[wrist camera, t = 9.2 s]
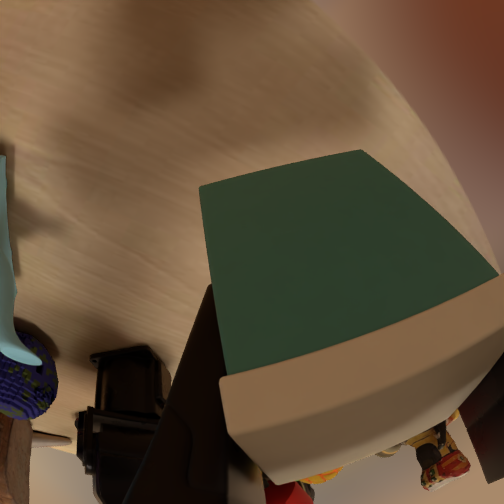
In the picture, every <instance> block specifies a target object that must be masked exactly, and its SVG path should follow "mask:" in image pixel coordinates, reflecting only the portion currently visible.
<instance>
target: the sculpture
mask: <svg viewBox="0 0 504 504" xmlns="http://www.w3.org/2000/svg"><path fill="white" fill-rule="evenodd" d="M32 436H33V430H32V427H31V424H30V422H29V420H24V419H23V420H18V419H14V418H12V417H8V416H6V415H5V414H3V413H1V412H0V504H29V472H30V466H29V465H30V456H31V446H32Z"/></svg>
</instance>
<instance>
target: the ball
mask: <svg viewBox="0 0 504 504" xmlns="http://www.w3.org/2000/svg"><path fill="white" fill-rule="evenodd" d="M15 332H16V335H17V336H18V338H19V340H20V341H21V342H22V343H23V344H24V345H25V346H26V347H27V348H28V349H29V350H30V351H32V352H33V353H34V354H35V355H37V356H38V357H39V358H40V359H41V361H42V364H41V365H28V364H24V363H21V362H18V361H15V360H13V359H11V358H9V357H7V356H5V355H4V354H3V353H1V352H0V412H1V413H3V414H5V415H6V416H8V417H12V418H14V419H18V420H23V419H24V420H30V419H35V418H36V417H39V415H42V414H44V412H45V413H46V411H47V409H48V408H50V405H51V404H52V402H53V401H54V400H55V398H56V395H57V388H58V382H59V381H58V378H57V373H56V367H55V362H54V361H53V359H52V357H51V356H50V354H49V353H48V351H47V349H45V347H44V345H43V344H41V343H40V342H39V341H38V340H36V339H35V338H34V337H33V336H32V335H28V334H25V333H20V332H17V331H15Z"/></svg>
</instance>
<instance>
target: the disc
mask: <svg viewBox="0 0 504 504" xmlns="http://www.w3.org/2000/svg"><path fill="white" fill-rule="evenodd" d="M268 483H269V485H270V486H269V487H267V488H265V489H264V491H265V499H266V504H313V500H312V499H311V497H310V496H309V495H308V494H307V493H306V492H305V491H304V490H303V489H302V487H301V486H300V485H299V484H298V483H297V482H296V481H293V482H289V483H285V484H281V485H276V484H275V483H274V482H273V481H272V480H269V481H268Z"/></svg>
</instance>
